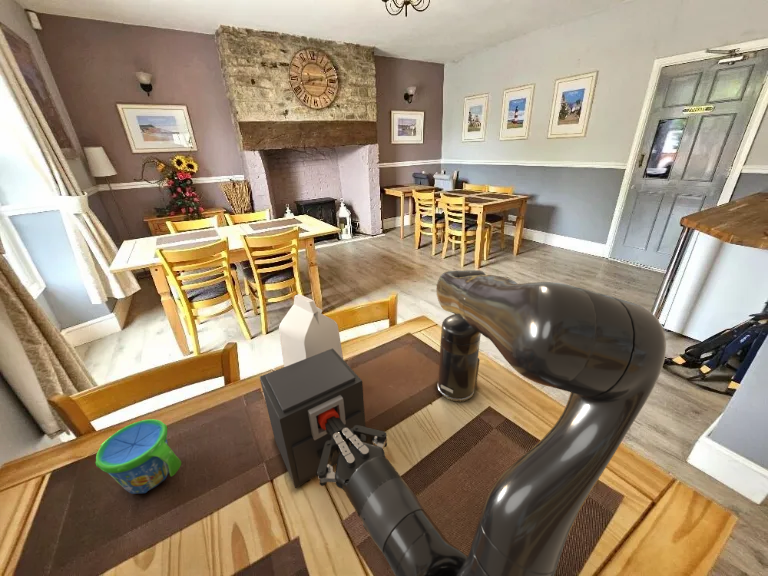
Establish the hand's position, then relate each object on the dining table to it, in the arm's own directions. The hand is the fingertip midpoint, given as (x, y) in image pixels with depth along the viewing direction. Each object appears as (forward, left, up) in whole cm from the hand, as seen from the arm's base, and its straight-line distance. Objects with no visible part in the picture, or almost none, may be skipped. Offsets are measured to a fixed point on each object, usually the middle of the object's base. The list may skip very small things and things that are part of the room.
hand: (330, 421), depth 56 cm
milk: (-7, -27, -14) cm, 31 cm away
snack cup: (+31, -21, -14) cm, 40 cm away
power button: (0, -1, -2) cm, 2 cm away
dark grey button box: (0, -7, -14) cm, 16 cm away
